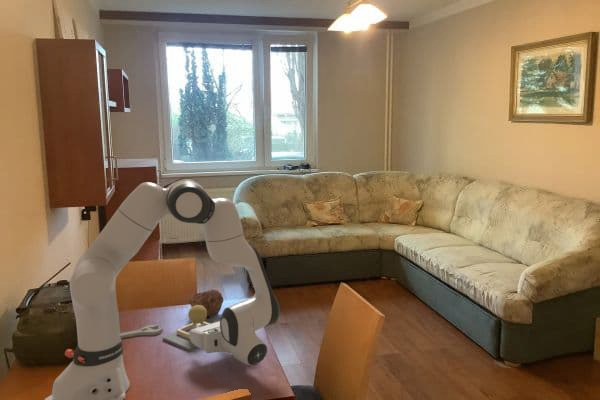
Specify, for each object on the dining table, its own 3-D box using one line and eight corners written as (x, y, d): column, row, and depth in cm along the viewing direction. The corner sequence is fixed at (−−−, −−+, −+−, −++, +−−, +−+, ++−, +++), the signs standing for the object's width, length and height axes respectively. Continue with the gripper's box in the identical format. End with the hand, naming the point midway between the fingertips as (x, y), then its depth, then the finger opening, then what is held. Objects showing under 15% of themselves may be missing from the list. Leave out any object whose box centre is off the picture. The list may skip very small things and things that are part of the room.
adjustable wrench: (86, 346, 174) (86, 341, 173) (87, 338, 180) (87, 333, 179) (162, 334, 182) (162, 330, 182) (161, 327, 188) (160, 322, 188)
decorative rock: (221, 307, 205) (220, 283, 203) (226, 318, 195) (225, 293, 193) (188, 311, 201) (187, 287, 200) (191, 323, 191) (190, 297, 189)
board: (189, 351, 168) (189, 344, 168) (162, 340, 177) (162, 333, 176) (233, 330, 184) (232, 324, 184) (206, 320, 192) (206, 314, 192)
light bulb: (205, 336, 177) (204, 309, 175) (187, 336, 177) (186, 309, 175) (209, 328, 183) (208, 302, 182) (191, 328, 183) (190, 302, 182)
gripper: (258, 318, 167) (236, 305, 178) (201, 335, 155) (181, 320, 165) (258, 336, 168) (236, 322, 179) (202, 355, 156) (182, 339, 167)
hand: (209, 322), depth 172 cm, fingers open, 8 cm apart
